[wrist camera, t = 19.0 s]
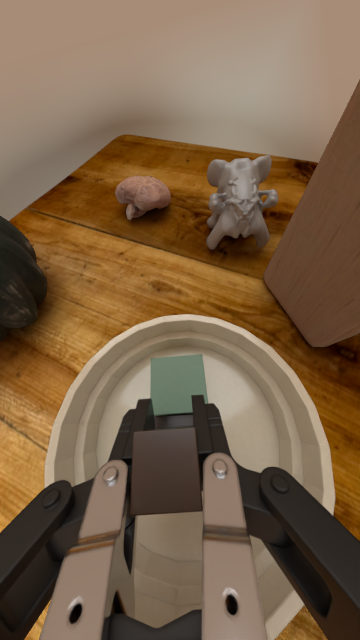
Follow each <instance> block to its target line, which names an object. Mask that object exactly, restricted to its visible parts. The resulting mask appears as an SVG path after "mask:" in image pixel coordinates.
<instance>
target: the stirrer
mask: <svg viewBox="0 0 360 640" xmlns="http://www.w3.org/2000/svg"><path fill="white" fill-rule="evenodd" d="M154 417H155V429H149V430H142V431H135V432H134V433H133V451H132V475H131V498H130V516H139V515H154V514H170V513H186V512H201V511H203V505H202V494H201V482H200V471H199V460H198V449H197V438H196V428H195V427H194V423H193V413H192V414H178V415H165V416H154Z"/></svg>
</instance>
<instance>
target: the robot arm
mask: <svg viewBox="0 0 360 640" xmlns="http://www.w3.org/2000/svg"><path fill="white" fill-rule="evenodd" d="M191 399H192V411H193V423H194V427H195V428H196V438H197V449H198V460H199V471H200V482H201V491H203V531H202V609H198V610H192V611H190V612H188V613H186V614H184V615H182V616H181V617H179V618H177V619H175V620H173V621H171V622H169V623H167V624H165V625H164V626H162V627H159V628H154V627H151V626H149V625H147V624H145V623H143V622H140V621H138V620H136V619H135V591H134V568H135V552H136V536H137V520H138V516H130V498H131V475H132V451H133V433H134V432H135V431H142V430H149V429H155V417H154V411H153V404H152V399H151V398H148V399H138V402H137V405H136V409H129V410H128V412H127V413H126V414H125V415H124V416H123V419H122V422H121V425H120V428H119V430H118V434H117V436H116V439H115V442H114V445H113V448H112V451H111V454H110V456H109V459H108V462H107V463H106V464H104V465H103V466H102V467H101V468H100V469H99V470H98V472H97V473H96V475H95V477H94V478H92V479H90V480H88V481H86V482H83V483H81V484H78V485H76V486H73V487H72V486H71V484H70V482H69V481H66V480H59V481H56V482H54V483H52V484H50V485H48V486H47V487H46V488H45V489H43V490H42V491H41V492H40V493H39V494H38V495H37V496H36V497H35V498H34V499H33V500H32V501H31V502H30V503H29V504H28V505H27V506H26V507H25V508H24V509H23V510H22V511H21V512H20V513H19V514H18V516H17V517H16V518H15V519H14V520H13V521H12V522H11V523H10V524H9V525H8V526H7V527H6V528H5V529H4V530H3V531H2V532H1V533H0V640H24V639H25V637H26V636H27V634H28V633H29V631H30V630H31V628H32V627H33V625H34V624H35V622H36V621H37V619H38V618H39V616H40V615H41V613H42V611H43V610H44V608H45V607H46V605H47V604H48V602H49V601H50V599H51V598H52V599H51V602H50V605H49V609H48V612H47V615H46V619H45V622H44V625H43V628H42V632H41V635H40V638H39V640H268V638H267V632H266V626H265V620H264V614H263V608H262V602H261V596H260V590H259V584H258V578H257V572H256V566H255V560H254V554H253V549H252V544H251V539H250V536H249V535H251V536H253V537H256V538H259V539H261V540H262V542H263V544H264V545H265V547H266V548H267V550H268V551H269V553H270V554H271V556H272V557H273V559H274V560H275V561H276V563H277V564H278V566H279V567H280V569H281V570H282V572H283V573H284V575H285V576H286V578H287V579H288V581H289V582H290V584H291V585H292V587H293V588H294V590H295V591H296V593H297V594H298V596H299V597H300V599H301V600H302V602H303V603H304V605H305V606H306V607H307V609H308V610H309V612H310V613H311V615H312V616H313V618H314V619H315V621H316V622H317V624H318V625H319V627H320V628H321V630H322V631H323V633H324V634H325V636H326V637H327V639H328V640H360V541H359V540H358V539H357V538H355V537H354V536H353V535H352V534H351V533H350V532H349V531H348V530H347V529H346V528H345V527H344V526H343V525H342V524H341V523H340V522H339V521H338V520H337V519H336V518H335V517H334V516H333V515H332V514H331V513H330V512H329V511H328V510H327V509H326V508H325V507H324V506H323V505H322V504H320V503H319V502H318V501H317V500H316V499H315V498H314V497H313V496H312V495H311V494H310V493H309V492H308V491H307V490H306V489H305V488H304V487H303V486H302V485H301V484H300V483H299V482H298V481H297V480H296V479H295V478H294V477H293V476H292V475H290V474H289V473H288V472H287V471H285V470H283V469H281V468H278V467H267V468H265V469H264V470H263V471H262V472H261V473H259V472H255V471H252V470H248V469H246V468H244V467H242V466H240V465H239V464H238V463H237V462H236V461H235V460H234V459H233V457H232V455H231V453H230V449H229V446H228V442H227V438H226V434H225V431H224V427H223V423H222V419H221V416H220V412H219V409H218V408H217V407H216V406H215V404H214V403H209V404H205V400H204V395H203V394H202V395H191Z"/></svg>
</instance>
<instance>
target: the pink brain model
mask: <svg viewBox="0 0 360 640" xmlns="http://www.w3.org/2000/svg"><path fill="white" fill-rule="evenodd" d="M115 194H116V198H117V200H118V201H119V203H121V204H125V203H128V204H129V205H128V206H127V209H126V216H127V219H128V220H131V219H132V218H135V217H136V218H138V217H140V216H142V215H143V214H145V213H146V212H147V211H149V210H152V209H154V208H158V209H161V208H164V207H167V206H168V204H169V203H170V200H171V194H170V191H169V189H168V188H167V186H166V185H165V184H163V183H162V182H161V181H160V180H158V179H156V178H153V177H152V176H150V177H149V176H145V177H142V176H137V175H136V176H132V177H129V178H127V179H125V180H123V181H122V182H121V183H119V185H118V186H117V188H116V191H115Z"/></svg>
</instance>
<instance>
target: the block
mask: <svg viewBox="0 0 360 640" xmlns="http://www.w3.org/2000/svg"><path fill="white" fill-rule="evenodd" d="M264 281H265V283H266V285H267V286H268V288H269V289H270V290H271V292H272V293H273V295H274V296H275V297H276V299H277V300H278V302H279V303H280V304H281V306H282V307H283V309H284V310H285V312H286V313H287V314H288V316H289V317H290V319H291V320H292V321H293V323H294V324H295V326H296V327H297V328H298V330H299V331H300V333H301V334H302V335H303V337H304V338H305V340H306V341H307V342H308V343H309V344H310V345H311V346H313V347H326V346H329V345H331V344H334V343H337V342H339V341H342V340H344V339H347V338H349V337H352V336H355V335H357V334H360V80H359V82H358V84H357V86H356V89H355V90H354V93H353V95H352V97H351V99H350V101H349V103H348V105H347V107H346V109H345V111H344V113H343V115H342V117H341V119H340V121H339V123H338V125H337V127H336V129H335V131H334V133H333V135H332V137H331V139H330V141H329V143H328V145H327V147H326V149H325V151H324V153H323V155H322V157H321V159H320V161H319V163H318V165H317V167H316V169H315V171H314V173H313V175H312V177H311V179H310V181H309V183H308V185H307V188H306V190H305V192H304V194H303V196H302V198H301V200H300V202H299V204H298V206H297V208H296V210H295V212H294V214H293V216H292V218H291V220H290V222H289V224H288V226H287V228H286V230H285V232H284V234H283V236H282V238H281V240H280V242H279V244H278V246H277V248H276V250H275V252H274V254H273V256H272V258H271V260H270V262H269V264H268V266H267V268H266V270H265V272H264Z"/></svg>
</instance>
